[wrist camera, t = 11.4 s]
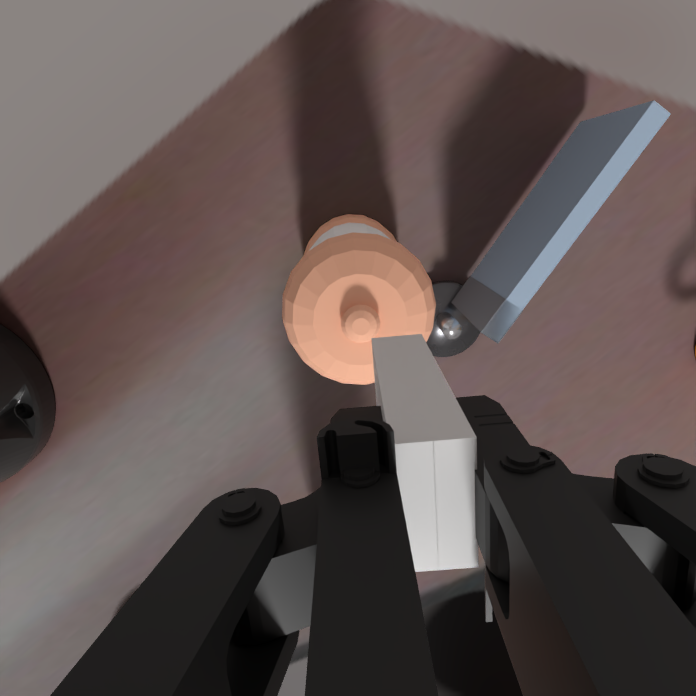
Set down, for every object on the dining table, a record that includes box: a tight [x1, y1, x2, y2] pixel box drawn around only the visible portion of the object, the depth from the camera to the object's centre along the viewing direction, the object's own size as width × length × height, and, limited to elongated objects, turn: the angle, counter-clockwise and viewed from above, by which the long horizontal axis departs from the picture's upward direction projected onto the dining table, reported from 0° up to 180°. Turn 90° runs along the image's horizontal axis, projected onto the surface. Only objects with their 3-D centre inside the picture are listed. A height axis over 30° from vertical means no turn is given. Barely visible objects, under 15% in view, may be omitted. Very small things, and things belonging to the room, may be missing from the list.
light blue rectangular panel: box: [451, 101, 670, 343], centre depth 32 cm, size 15×1×8 cm, turn 147°
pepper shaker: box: [282, 214, 436, 385], centre depth 29 cm, size 7×7×19 cm
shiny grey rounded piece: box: [426, 281, 480, 357], centre depth 38 cm, size 6×6×4 cm
